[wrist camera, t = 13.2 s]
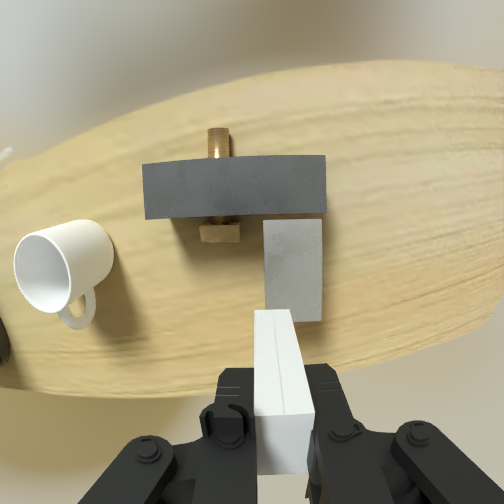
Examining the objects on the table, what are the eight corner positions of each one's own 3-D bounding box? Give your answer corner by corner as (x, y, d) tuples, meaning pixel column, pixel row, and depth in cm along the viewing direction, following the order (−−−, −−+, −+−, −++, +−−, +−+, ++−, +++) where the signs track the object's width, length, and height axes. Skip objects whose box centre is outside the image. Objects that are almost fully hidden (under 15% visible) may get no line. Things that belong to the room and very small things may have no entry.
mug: (130, 306, 36) (93, 346, 26) (80, 310, 37) (38, 345, 27) (108, 212, 33) (58, 225, 23) (57, 224, 34) (5, 240, 24)
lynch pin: (240, 238, 34) (239, 242, 32) (204, 238, 34) (200, 243, 32) (238, 130, 31) (236, 126, 29) (201, 132, 31) (196, 128, 29)
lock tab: (265, 320, 27) (265, 323, 27) (263, 220, 27) (263, 220, 26) (320, 318, 27) (321, 320, 27) (320, 218, 26) (321, 218, 26)
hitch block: (167, 211, 33) (145, 219, 26) (165, 167, 32) (142, 164, 25) (312, 206, 33) (326, 212, 26) (311, 160, 32) (325, 155, 25)
